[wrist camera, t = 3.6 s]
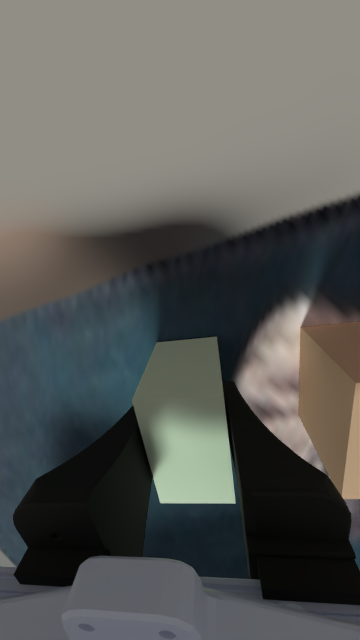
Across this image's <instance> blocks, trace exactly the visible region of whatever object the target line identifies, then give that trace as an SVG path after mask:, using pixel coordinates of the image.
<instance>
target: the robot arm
mask: <svg viewBox="0 0 360 640" xmlns="http://www.w3.org/2000/svg"><path fill="white" fill-rule="evenodd" d="M222 385H223V393H224V402H225V412H226V421H227V430H228V438H229V443H230V448H231V453H232V457H233V462H234V467H235V472H236V477H237V484H238V492H239V500H240V508H241V516H242V524H243V532H244V540H245V548H246V556H247V564H248V572H249V579H236V578H217V577H199V576H198V574H197V573H196V571H195V570H194V569H193V567H191V566H189V565H187V564H186V563H184V562H182V561H178V560H173V559H168V558H148V557H142V555H143V546H144V537H145V528H146V520H147V512H148V504H149V497H150V490H151V483H152V478H153V475H152V471H151V468H150V464H149V461H148V457H147V453H146V450H145V446H144V443H143V439H142V435H141V432H140V428H139V425H138V421H137V417H136V414H135V410H134V407H133V406H132V407H131V408H130V409H129V410H128V412H127V413H126V414H125V415H124V416H123V417H122V418H121V419H120V420H119V421H118V422H117V423H116V424H115V425H114V426H113V427H112V428H111V429H110V430H108V431H107V432H106V433H105V434H104V435H103V436H101V437H100V438H99V439H98V440H96V441H95V442H94V443H92V444H91V445H90V446H89V447H87V448H86V449H85V450H83V451H82V452H80V453H79V454H77V455H76V456H74V457H73V458H71V459H70V460H68V461H67V462H65V463H63V464H62V465H60V466H58V467H57V468H55V469H53V470H51V471H50V472H48V473H46V474H44V475H42V476H41V477H39V478H37V479H36V480H35V482H34V483H33V485H32V486H31V488H30V489H29V491H28V492H27V494H26V495H25V497H24V498H23V499H22V501H21V502H20V504H19V505H18V507H17V508H16V510H15V512H14V514H13V521H14V525H15V527H16V529H17V531H18V532H19V534H20V535H21V537H22V538H23V540H24V542H25V543H26V545H27V546H28V549H27V551H26V553H25V554H24V556H23V558H22V560H21V562H20V563H19V565H18V567H0V640H360V571H359V569H358V566H357V564H356V562H355V560H354V559H355V558H356V556H355V553H354V550H353V548H352V546H351V544H350V542H349V534H350V527H351V513H350V511H349V509H348V507H347V505H346V503H345V501H344V499H343V498H342V496H341V494H340V493H339V491H338V490H337V488H336V487H335V485H334V484H333V483H332V481H331V480H330V478H329V477H328V476H327V475H326V474H325V473H323V472H321V471H320V470H318V469H317V468H315V467H314V466H312V465H311V464H309V463H308V462H306V461H305V460H304V459H302V458H301V457H300V456H298V455H297V454H296V453H294V452H293V451H292V450H291V449H290V448H288V447H287V446H286V445H285V444H284V443H282V442H281V441H280V440H279V439H278V438H277V437H276V436H275V435H274V434H273V433H272V432H271V431H270V430H269V429H268V428H267V427H266V426H265V425H264V424H263V423H262V422H261V421H260V420H259V418H258V417H257V416H256V415H255V414H254V412H253V411H252V410H251V409H250V407H249V406H248V404H247V403H246V402H245V400H244V399H243V397H242V396H241V394H240V392H239V391H238V389H237V387H236V385H235V383H234V382H233V381H229V382H222Z"/></svg>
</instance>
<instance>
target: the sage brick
mask: <svg viewBox="0 0 360 640" xmlns="http://www.w3.org/2000/svg"><path fill="white" fill-rule="evenodd" d="M132 403H133V407H134V410H135V414H136V417H137V421H138V425H139V428H140V432H141V435H142V439H143V443H144V446H145V450H146V453H147V457H148V461H149V464H150V468H151V471H152V475H153V479H154V482H155V486H156V489H157V493H158V497H159V500H160V503H230V504H236V503H235V493H234V484H233V475H232V466H231V457H230V448H229V439H228V430H227V421H226V412H225V402H224V393H223V385H222V376H221V368H220V359H219V351H218V342H217V337H207V338H197V339H187V340H177V341H167V342H157V343H156V345H155V347H154V350H153V352H152V354H151V357H150V359H149V362H148V364H147V366H146V369H145V371H144V373H143V376H142V378H141V380H140V383H139V385H138V388H137V390H136V392H135V395H134V397H133V399H132Z"/></svg>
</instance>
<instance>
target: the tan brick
mask: <svg viewBox="0 0 360 640" xmlns="http://www.w3.org/2000/svg"><path fill="white" fill-rule="evenodd" d="M298 415H299V417H300V419H301V421H302V423H303V425H304V427H305V429H306V431H307V433H308V435H309V437H310V439H311V441H312V443H313V445H314V447H315V449H316V451H317V453H318V454H319V456H320V458H321V460H322V462H323V464H324V466H325V468H326V470H327V472H328V474H329V476H330V478H331V480H332V482H333V484H334V485H335V487H336V488H337V490H338V491H339V493H340V494H341V496H342V498H343V499H360V321H358V322H348V323H338V324H328V325H318V326H308V327H301V329H300V368H299V407H298Z"/></svg>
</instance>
